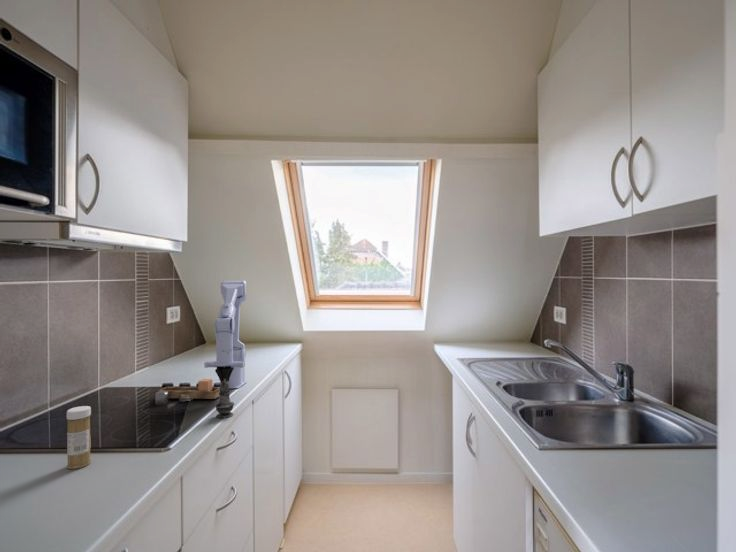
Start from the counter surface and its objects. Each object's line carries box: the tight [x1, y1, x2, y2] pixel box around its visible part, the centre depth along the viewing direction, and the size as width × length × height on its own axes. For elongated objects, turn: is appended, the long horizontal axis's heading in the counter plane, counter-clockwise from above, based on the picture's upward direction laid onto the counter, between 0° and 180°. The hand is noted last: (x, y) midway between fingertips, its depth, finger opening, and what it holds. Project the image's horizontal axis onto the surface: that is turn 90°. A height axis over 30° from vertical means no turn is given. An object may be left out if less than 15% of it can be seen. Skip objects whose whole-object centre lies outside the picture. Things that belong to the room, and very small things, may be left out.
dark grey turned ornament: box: [214, 378, 235, 419], centre depth 122 cm, size 6×6×12 cm
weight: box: [154, 391, 169, 407], centre depth 135 cm, size 4×4×4 cm
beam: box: [155, 386, 220, 403], centre depth 140 cm, size 22×7×4 cm, turn 86°
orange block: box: [197, 378, 213, 391], centre depth 140 cm, size 4×3×4 cm
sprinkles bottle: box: [66, 405, 92, 470], centre depth 89 cm, size 5×5×14 cm
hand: (224, 387), depth 139 cm, fingers closed
